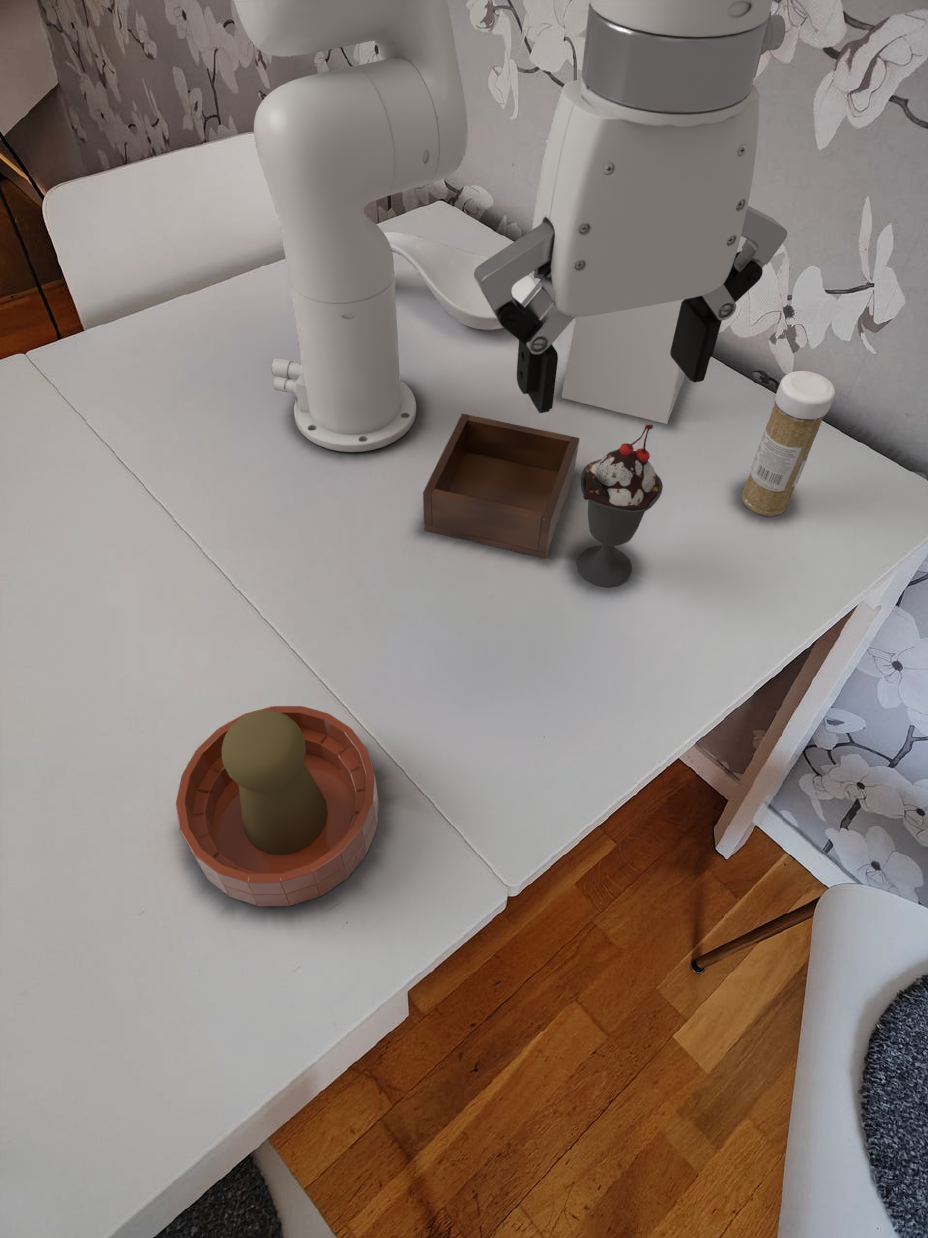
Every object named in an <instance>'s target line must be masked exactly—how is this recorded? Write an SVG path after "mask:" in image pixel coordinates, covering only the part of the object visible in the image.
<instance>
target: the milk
mask: <svg viewBox="0 0 928 1238" xmlns="http://www.w3.org/2000/svg"><path fill="white" fill-rule="evenodd" d="M682 301H684V300H678V301H673V302H667V303H661V304H656V305H650V306H645V307H639V308H633V309H628V310H622V311H616V312H610V313H605V314H599V315H592V316H584V317H575V320H574V326H573V332H572V337H571V342H570V346H569V354H568V359H567V364H566V370H565V375H564V381H563V386H562V392H561V399H564V400H568V401H573V402H577V403H581V404H585V405H589V406H593V407H597V408H601V409H605V410H608V411H609V410H610V411H613V412H617V413H621V414H625V415H628V416H631V417H632V416H633V417H637V418H641V419H645V420H649V421H653V422H656V423H660V424H665V425H668V422H669V419H670V417H671V415H672V412H673V409H674V406H675V404H676V401H677V399H678V396H679V393H680V392H681V388H682V386H683V383H684V380H685V378H686V375H685V374H684V372H683V371H682V370H681V369H680V367H679V366H678V365H677V363H676V362H675V361H674V360H673V358H672V357H671V354H670V351H671V346H672V342H673V338H674V333H675V329H676V325H677V320H678V316H679V312H680V307H681V303H682Z"/></svg>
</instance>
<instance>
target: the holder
mask: <svg viewBox="0 0 928 1238" xmlns="http://www.w3.org/2000/svg"><path fill="white" fill-rule="evenodd" d="M579 443H580V437H577V436H572V435H568V434H562V433H558V432H553V431H549V430H544V429H539V428H534V427H529V426H524V425H520V424H515V423H510V422H505V421H501V420H496V419H491V418H485V417H482V416H477V415H471V414H467V413H461V414H460V416H459V419H458V421H457V423H456V424H455V427H454V428H453V431H452V433H451V435H450V437H449V438H448V440H447V443H446V444H445V447H444V449H443V451H442V453H441V455H440V457H439V460H438V461H437V463H436V466H435V468H434V470H433V472H432V473H431V475H430V477H429V480H428V481H427V483H426V485H425V488H424V490H423V492H422V498H423V499H422V502H423V504H422V505H423V527H424V531H427V532H431V533H434V534H435V533H436V534H440V535H444V536H448V537H452V538H456V539H459V540H460V539H461V540H465V541H470V542H473V543H478V544H480V545H486V546H490V547H494V548H499V549H503V550H507V551H512V552H516V553H519V554H520V553H521V554H525V555H529V556H533V557H537V558H542V559H546V558H547V556H548V553H549V550H550V547H551V544H552V541H553V538H554V535H555V532H556V530H557V526H558V524H559V521H560V517H561V515H562V511H563V508H564V505H565V503H566V500H567V497H568V494H569V492H570V488H571V485H572V483H573V479H574V476H575V469H576V463H577V459H578V458H577V457H578V450H579V445H580V444H579Z"/></svg>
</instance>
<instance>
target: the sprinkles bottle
mask: <svg viewBox="0 0 928 1238" xmlns="http://www.w3.org/2000/svg"><path fill="white" fill-rule="evenodd" d="M835 395H836V388H835V385H834V384H833V383H832V382H831V381H830V380H829V379H828V378H827V377H825V376H824V375H821V374H819V373H817V372H813V371H807V370H795V371H792V372H789V373H786V375H784V376H783V377H782V378H781V380H780V382H779V385H778V387H777V390H776V393H775V396H774V405H773V407H772V410H771V413H770V416H769V418H768V421H767V423H766V425H765V428H764V431H763V434H762V437H761V439H760V442H759V444H758V447H757V450H756V452H755V455H754V459H753V462H752V465H751V468H750V471H749V475H748V478H747V480H746V484H745V486H744V487H743V489H742V491H741V500H742V502H743V504H744V505H745V507H746V508H747V509H749V510H750V511H752V512H753V513H755V514H758V515H761V516H766V517H771V516H773V517H774V516H778V515H781V514H782V513H783V514H784V512H786V510H787V509H788V508H789V506H790V501H791V498H792V496H793V492H794V491H795V487H796V485H797V484H798V482H799V480H800V478H801V475H802V473H803V470H804V468H805V466H806V463H807V460H808V457H809V454H810V451H811V448H812V446H813V445H814V442H815V439H816V437H817V434H818V432H819V429H820V426H821V425H822V422H823V419H824V417H825V416H826V415H827V414H828V413H829V410H830V409H831V407H832V404H833V401H834V399H835Z"/></svg>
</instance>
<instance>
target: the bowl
mask: <svg viewBox="0 0 928 1238" xmlns="http://www.w3.org/2000/svg"><path fill="white" fill-rule="evenodd" d="M261 710H267V711H277V712H279V713H282V714H285V715H287V716H288V717H290V718H291V719H292V720H293V721H294V722H296V724H297V725H298V726H299V728H300V730H301V731H302V733H303V735H304V740H305V746H306V753H305V758H304V763H305V764H306V766H307V768H308V770H309V771H310V773H311V775H312V777H313V778H314V780H315V782H316V784H317V786H318V787H319V789H320V791H321V793H322V794H323V796H324V798H325V800H326V804H327V810H328V815H327V820H326V825H325V827H324V828H323V830H322V832H321V834H320V836H319V837H318V838H317V839H316V840H315V841H314V842H313V843H312V844H311V845H310V846H308V847H306V848H304V849H303V850H301V851H299V852H297V853H292V854H288V855H272V854H268V853H266V852H263V851H261V850H258V849H257V848H256V847H255V846H254V845H253V844H252V843H251V842H250V841H249V840H248V838H247V836H246V834H245V832H244V827H243V819H242V810H241V802H240V793H239V785H238V784H237V783H236V782H235V781H234V780H233V779H232V778H231V777H230V776H229V774H228V773H227V771H226V769H225V767H224V764H223V762H222V745H223V741H224V737H225V735H226V734H227V732H228V731H229V729H230V728H231V726H232V725H233V724H234V723H235V722H237V721H238V720H239V719H240V718H241V717H243V716H245V715H247V714H249V713H251V712H256V711H261ZM175 806H176V813H177V820H178V826H179V831H180V833H181V835H182V837H183V839H184V840H185V842H186V844H187V846H188V848H189V850H190V852H191V853H192V855H193V856H194V859H195V860H196V863H198V865H199V867H200V869H201V871H202V872H203V874H204V876H205V877H206V879H207V880H208V881H209V882H210V883H212V884H213V885H214V886H216V887H217V888H218V889H219V890H220V891H222V892H223V893H224V894H226V895H227V896H228V897H230V898H231V899H234V900H235V899H236V900H238V901H241V902H244V903H247V904H250V905H254V906H258V907H290V906H294V905H297V904H301V903H304V902H306V901H310V900H312V899H316V898H319V897H322V896H323V895H325V894H326V893H328V892H329V891H331V890H332V889H333V888H335V887H337V886H338V885H339V884H341V883H342V882H344V881H346V880H347V879H348V878H349V877H350V875H351V874H352V873H353V872H354V870H355V869H356V868H357V867H358V866H359V864H360V863H361V862H362V861H363V860H364V858H365V857H366V855H367V854H368V851H369V849H370V846H371V844H372V842H373V839H374V837H375V834H376V831H377V827H378V814H379V797H378V790H377V781H376V774H375V770H374V767H373V764H372V761H371V758H370V755H369V751H368V748H367V747H366V746H365V744H364V743H363V742H362V740H361V739H360V738H359V737H358V735H357V734H356V733H355V731H354V730H353V729H352V727H350V726H348V724H345V723H344V722H342V721H341V720H340V719H338V718H336V717H335V716H333V715H332V714H330V713H327V712H324V711H321V710H318V709H313V708H310V707H307V706H303V705H274V706H269V707H265V708H264V707H263V708H261V709H257V710H253V711H249V712H246V713H243V714H242V715H240V716H238V717H236V718H234V719H232V720H230V721H229V722H227V723H225V724H224V725H221V726H220V727H218V728H217V729H216V730H215V731H214V732H212V734H210V736H209V737H208V738H207V739H205V740H204V741H203V742H202V743H201V744H200V745H199V746H198V747H197V748H196V749H195V751H194V753H193V755H192V756H191V758H190V760H189V761H188V763H187V765H186V767H185V768H184V770H183V772H182V774H181V777H180V781H179V786H178V791H177V796H176V800H175Z"/></svg>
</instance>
